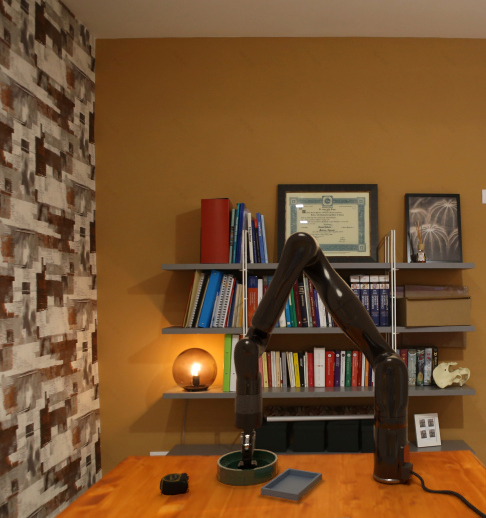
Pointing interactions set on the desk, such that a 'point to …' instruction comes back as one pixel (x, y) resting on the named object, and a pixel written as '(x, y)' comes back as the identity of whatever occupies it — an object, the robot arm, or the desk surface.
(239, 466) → the clip
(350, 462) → the desk surface
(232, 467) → the bowl
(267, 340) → the robot arm
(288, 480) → the tray
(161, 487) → the tape measure
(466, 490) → the desk surface
